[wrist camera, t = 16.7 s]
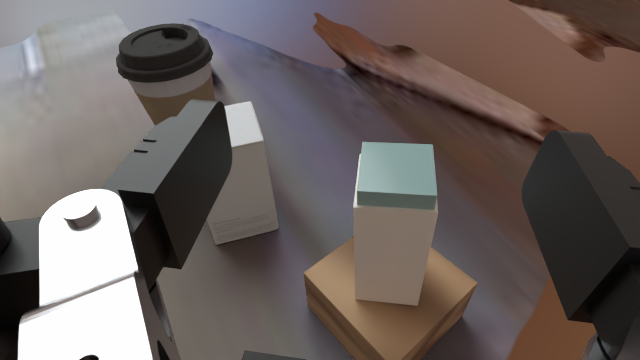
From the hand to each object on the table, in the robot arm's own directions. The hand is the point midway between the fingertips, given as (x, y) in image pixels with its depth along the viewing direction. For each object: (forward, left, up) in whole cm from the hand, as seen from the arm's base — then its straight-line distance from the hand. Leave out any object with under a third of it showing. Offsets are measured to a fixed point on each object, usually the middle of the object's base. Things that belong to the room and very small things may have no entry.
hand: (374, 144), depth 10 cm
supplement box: (-4, +24, -27) cm, 37 cm away
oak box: (+6, +8, -27) cm, 29 cm away
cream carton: (+6, +8, -21) cm, 23 cm away
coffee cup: (-8, +41, -27) cm, 50 cm away
